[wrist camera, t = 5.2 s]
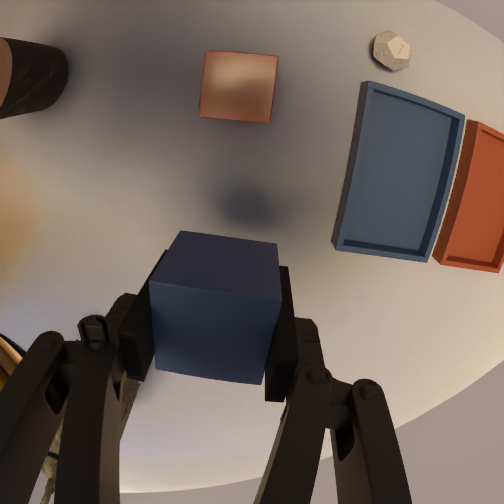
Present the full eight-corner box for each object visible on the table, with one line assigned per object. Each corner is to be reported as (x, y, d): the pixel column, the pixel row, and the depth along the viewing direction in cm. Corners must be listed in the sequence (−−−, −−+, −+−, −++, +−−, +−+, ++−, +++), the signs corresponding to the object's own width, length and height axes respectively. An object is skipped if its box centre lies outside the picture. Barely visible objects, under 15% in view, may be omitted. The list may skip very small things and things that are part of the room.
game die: (361, 57, 21) (372, 51, 18) (378, 27, 20) (390, 20, 17) (393, 79, 22) (407, 77, 19) (409, 50, 20) (424, 45, 17)
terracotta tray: (467, 119, 22) (478, 121, 21) (524, 149, 23) (535, 152, 21) (432, 256, 29) (440, 264, 27) (490, 265, 29) (498, 273, 27)
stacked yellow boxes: (-31, 349, 43) (-66, 396, 28) (-11, 309, 36) (-65, 372, 21) (42, 420, 52) (18, 471, 37) (87, 405, 45) (56, 477, 30)
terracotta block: (216, 60, 22) (205, 50, 17) (275, 66, 22) (278, 56, 18) (209, 115, 24) (197, 117, 20) (268, 121, 24) (269, 124, 20)
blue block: (179, 229, 15) (148, 280, 11) (277, 243, 16) (282, 300, 11) (178, 308, 18) (155, 369, 13) (262, 320, 18) (261, 385, 13)
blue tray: (361, 82, 22) (368, 80, 20) (454, 113, 22) (465, 115, 21) (330, 241, 29) (335, 250, 27) (419, 254, 29) (427, 263, 27)
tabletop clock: (93, 310, 34) (-4, 480, 12) (155, 346, 36) (93, 533, 14) (76, 367, 40) (13, 497, 17) (126, 395, 42) (79, 532, 19)
